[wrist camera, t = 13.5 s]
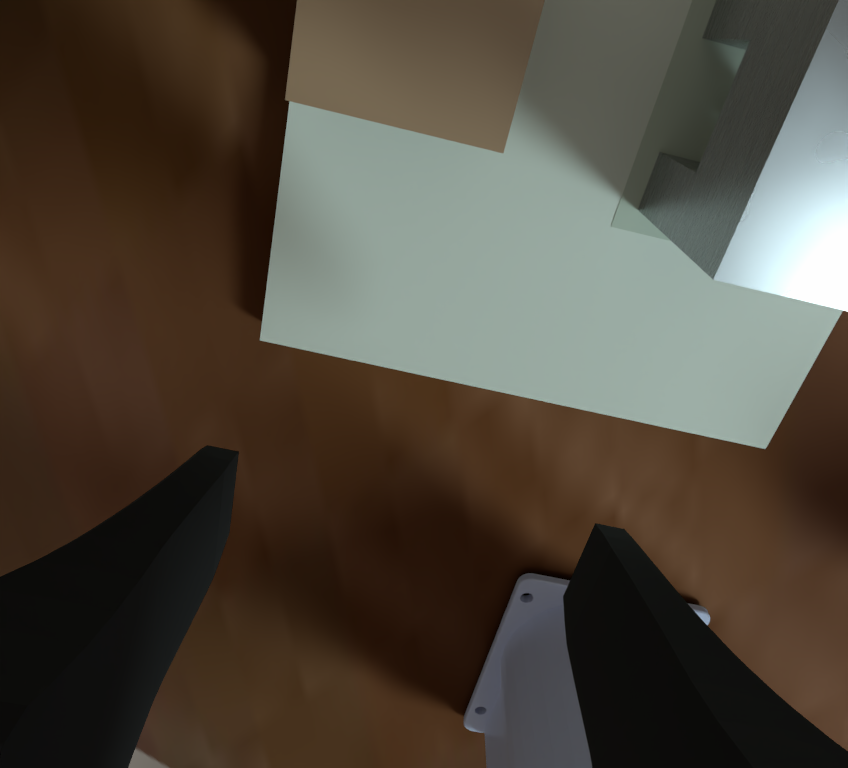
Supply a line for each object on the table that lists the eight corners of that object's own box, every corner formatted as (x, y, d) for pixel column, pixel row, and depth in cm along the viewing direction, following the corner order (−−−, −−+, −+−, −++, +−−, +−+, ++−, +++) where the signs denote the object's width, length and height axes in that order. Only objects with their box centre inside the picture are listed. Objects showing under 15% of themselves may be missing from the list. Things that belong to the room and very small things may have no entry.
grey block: (770, 241, 19) (894, 322, 14) (637, 209, 19) (713, 279, 14) (882, 7, 16) (1090, -4, 11) (729, -36, 16) (868, -66, 11)
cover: (494, 135, 18) (503, 153, 15) (309, 89, 18) (285, 100, 15) (552, -87, 16) (574, -111, 13) (340, -145, 15) (318, -183, 13)
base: (751, 430, 24) (793, 484, 21) (268, 325, 22) (243, 368, 19) (974, 13, 18) (1076, 10, 15) (332, -166, 16) (308, -207, 13)
